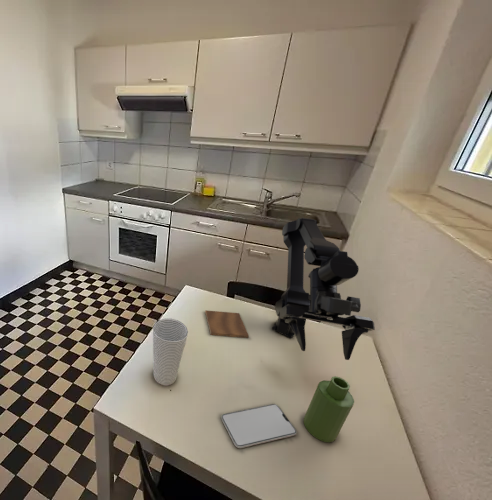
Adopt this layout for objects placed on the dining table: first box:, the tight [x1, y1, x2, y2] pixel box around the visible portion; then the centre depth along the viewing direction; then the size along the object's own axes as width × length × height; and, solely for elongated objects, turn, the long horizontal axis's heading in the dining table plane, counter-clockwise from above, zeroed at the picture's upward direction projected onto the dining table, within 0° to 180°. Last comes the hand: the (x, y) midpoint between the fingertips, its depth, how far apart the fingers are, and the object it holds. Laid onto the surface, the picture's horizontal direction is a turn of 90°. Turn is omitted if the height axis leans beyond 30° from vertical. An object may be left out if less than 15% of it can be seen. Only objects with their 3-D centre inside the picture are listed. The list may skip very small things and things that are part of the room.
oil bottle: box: [303, 375, 355, 443], centre depth 60 cm, size 6×6×14 cm
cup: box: [152, 318, 189, 386], centre depth 70 cm, size 8×8×16 cm
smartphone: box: [220, 403, 298, 449], centre depth 62 cm, size 7×1×15 cm
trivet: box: [204, 310, 250, 339], centre depth 95 cm, size 12×12×1 cm
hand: (325, 355), depth 64 cm, fingers open, 9 cm apart
